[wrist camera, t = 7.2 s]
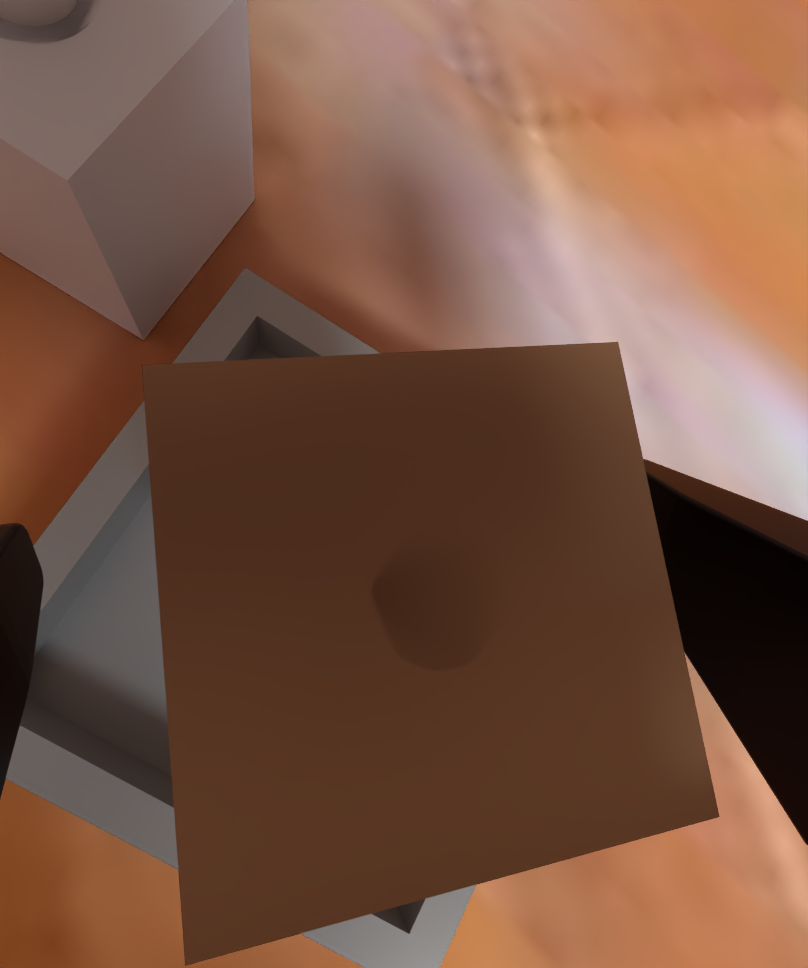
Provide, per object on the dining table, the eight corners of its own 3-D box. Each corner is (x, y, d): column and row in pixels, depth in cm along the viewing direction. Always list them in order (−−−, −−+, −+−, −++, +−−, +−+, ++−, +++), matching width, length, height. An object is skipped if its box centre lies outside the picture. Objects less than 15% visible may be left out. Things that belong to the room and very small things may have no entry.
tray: (400, 935, 16) (425, 999, 14) (-38, 701, 15) (-102, 722, 12) (589, 528, 20) (638, 516, 17) (248, 314, 19) (245, 267, 16)
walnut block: (410, 670, 17) (718, 815, 5) (246, 700, 16) (185, 965, 4) (388, 513, 17) (618, 341, 6) (230, 531, 16) (141, 364, 5)
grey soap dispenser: (143, 340, 18) (-41, -45, 7) (-41, 227, 17) (-531, -367, 7) (254, 199, 19) (237, -282, 9) (89, 92, 19) (-138, -555, 8)
